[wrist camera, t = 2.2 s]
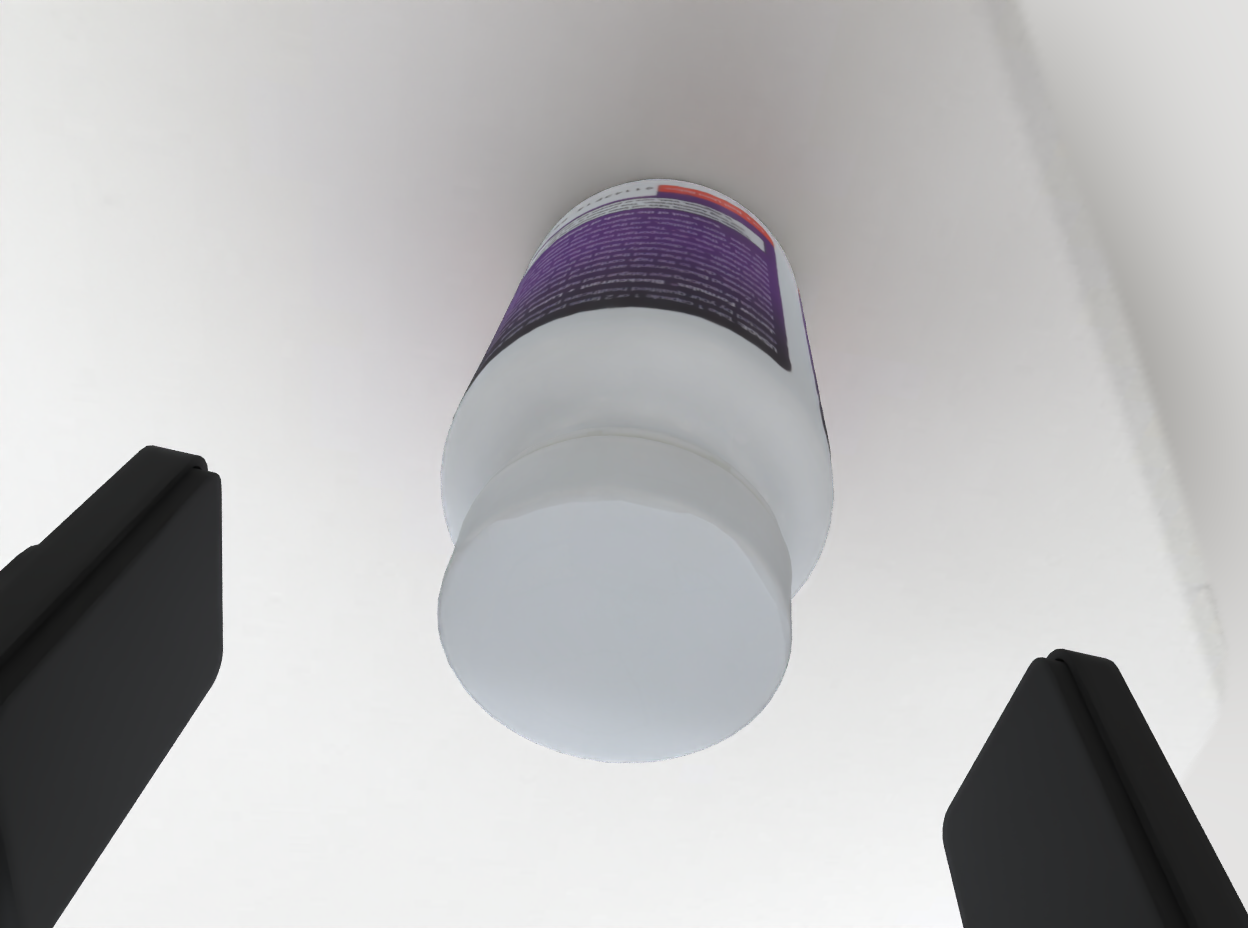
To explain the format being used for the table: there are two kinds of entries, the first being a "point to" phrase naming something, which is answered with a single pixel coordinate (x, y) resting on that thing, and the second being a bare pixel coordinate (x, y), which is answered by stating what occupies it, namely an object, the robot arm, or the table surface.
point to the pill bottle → (636, 481)
